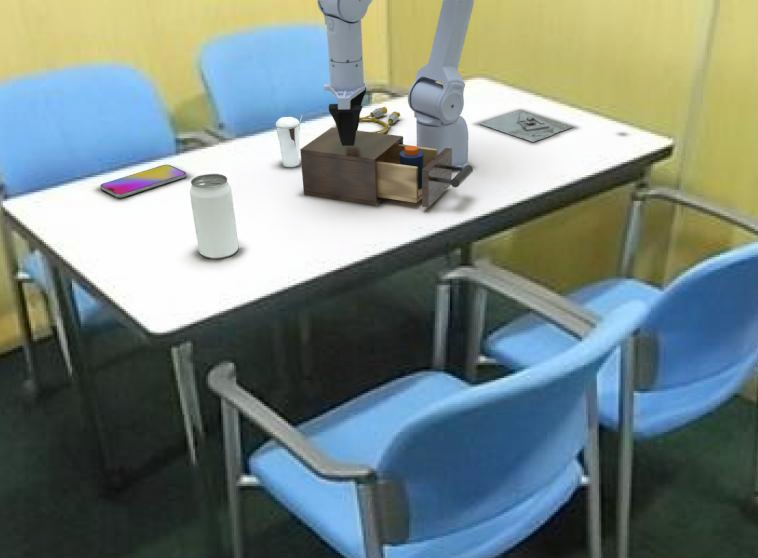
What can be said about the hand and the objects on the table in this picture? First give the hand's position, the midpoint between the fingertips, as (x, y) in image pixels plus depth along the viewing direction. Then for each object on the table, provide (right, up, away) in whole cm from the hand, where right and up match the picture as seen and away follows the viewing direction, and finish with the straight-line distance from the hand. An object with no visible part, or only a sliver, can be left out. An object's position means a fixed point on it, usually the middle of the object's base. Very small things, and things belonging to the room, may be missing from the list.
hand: (350, 137), depth 167 cm
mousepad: (+40, +11, +32) cm, 52 cm away
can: (-21, -22, -13) cm, 33 cm away
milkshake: (-12, 0, +18) cm, 22 cm away
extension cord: (+2, +12, +35) cm, 37 cm away
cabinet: (0, -7, +8) cm, 10 cm away
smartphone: (-39, -5, +12) cm, 41 cm away
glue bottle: (+11, -8, +3) cm, 14 cm away
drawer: (+12, -9, +3) cm, 15 cm away
